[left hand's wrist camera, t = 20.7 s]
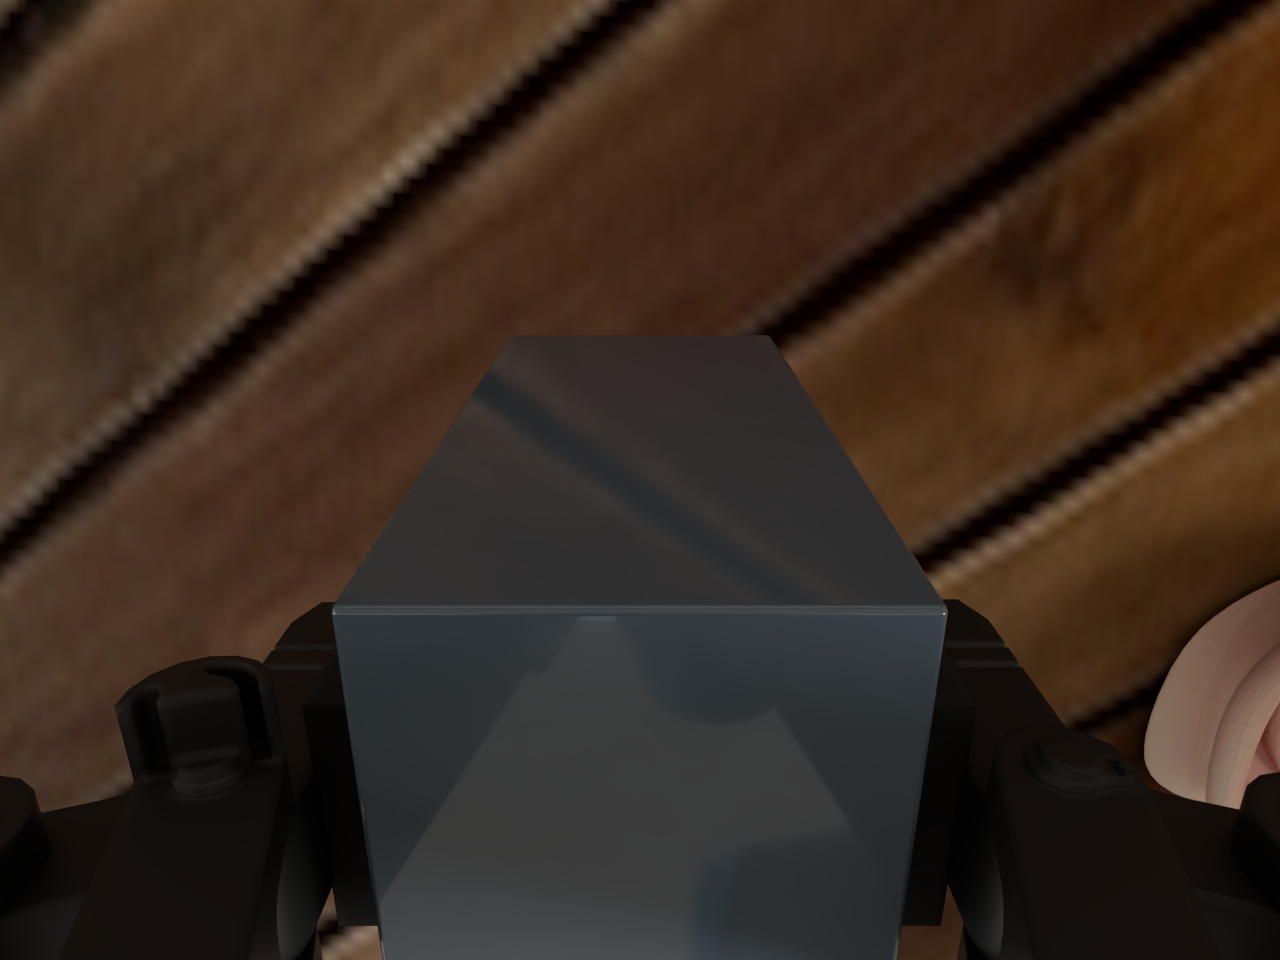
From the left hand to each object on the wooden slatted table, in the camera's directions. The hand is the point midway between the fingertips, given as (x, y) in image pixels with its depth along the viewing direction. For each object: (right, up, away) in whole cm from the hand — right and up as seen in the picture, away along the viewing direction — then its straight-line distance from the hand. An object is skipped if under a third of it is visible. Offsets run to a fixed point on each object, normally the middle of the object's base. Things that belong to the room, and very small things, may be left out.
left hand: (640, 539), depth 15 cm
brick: (0, +1, +2) cm, 2 cm away
